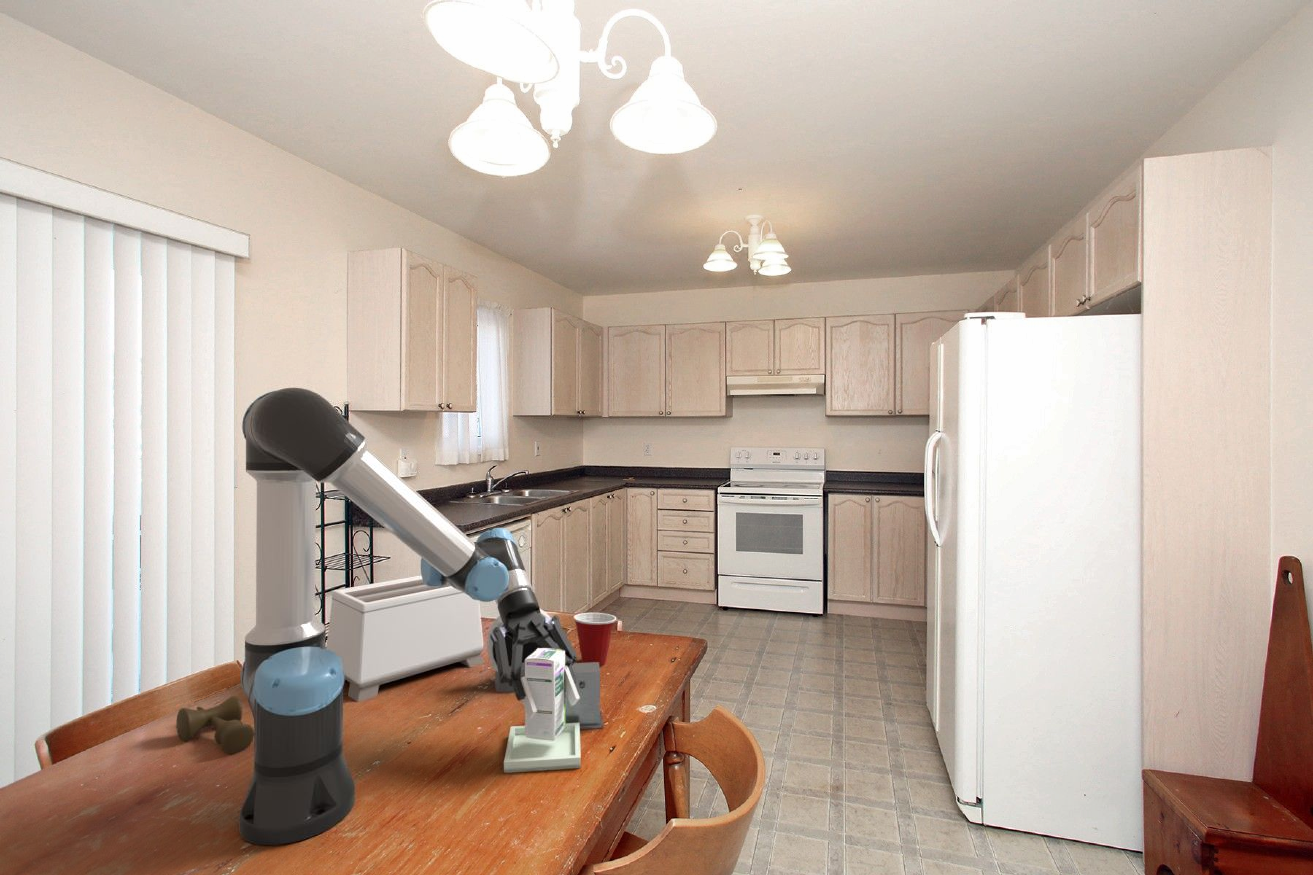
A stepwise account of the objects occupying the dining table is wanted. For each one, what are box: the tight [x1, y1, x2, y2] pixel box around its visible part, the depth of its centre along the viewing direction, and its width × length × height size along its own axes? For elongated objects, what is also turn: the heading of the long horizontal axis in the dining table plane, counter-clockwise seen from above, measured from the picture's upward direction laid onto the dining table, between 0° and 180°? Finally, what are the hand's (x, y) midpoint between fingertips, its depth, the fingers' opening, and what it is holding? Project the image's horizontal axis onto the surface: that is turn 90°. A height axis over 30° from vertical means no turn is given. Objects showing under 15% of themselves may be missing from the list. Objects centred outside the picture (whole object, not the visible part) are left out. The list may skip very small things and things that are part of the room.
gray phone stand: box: [565, 662, 604, 730], centre depth 124 cm, size 8×6×11 cm
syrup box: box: [524, 648, 566, 741], centre depth 113 cm, size 6×6×14 cm
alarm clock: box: [486, 608, 557, 693], centre depth 143 cm, size 16×10×18 cm, turn 109°
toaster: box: [325, 575, 486, 703], centre depth 151 cm, size 19×34×21 cm, turn 138°
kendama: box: [176, 695, 254, 755], centre depth 117 cm, size 6×10×20 cm
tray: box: [503, 723, 582, 774], centre depth 113 cm, size 13×13×2 cm
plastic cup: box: [573, 612, 617, 668], centre depth 156 cm, size 11×11×12 cm
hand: (554, 708), depth 110 cm, fingers closed on syrup box, 8 cm apart
